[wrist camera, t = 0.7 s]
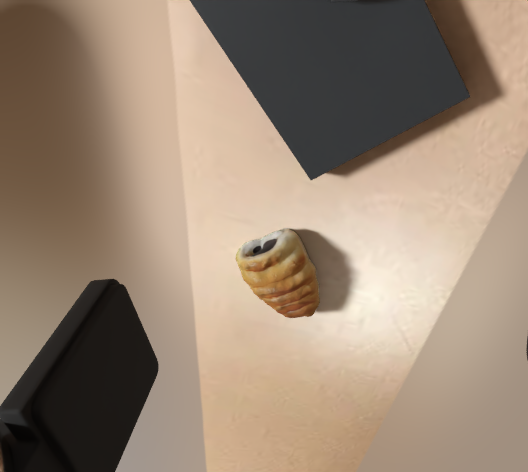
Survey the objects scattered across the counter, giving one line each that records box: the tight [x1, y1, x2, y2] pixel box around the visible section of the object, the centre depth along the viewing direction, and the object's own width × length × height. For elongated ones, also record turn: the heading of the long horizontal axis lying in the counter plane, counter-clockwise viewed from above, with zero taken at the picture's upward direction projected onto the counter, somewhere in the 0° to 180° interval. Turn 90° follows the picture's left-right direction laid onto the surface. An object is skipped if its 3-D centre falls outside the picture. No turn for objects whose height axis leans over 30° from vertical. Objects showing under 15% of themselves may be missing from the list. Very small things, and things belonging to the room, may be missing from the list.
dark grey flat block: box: [190, 0, 470, 180], centre depth 34 cm, size 16×14×4 cm
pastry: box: [236, 229, 320, 318], centre depth 46 cm, size 9×7×4 cm
